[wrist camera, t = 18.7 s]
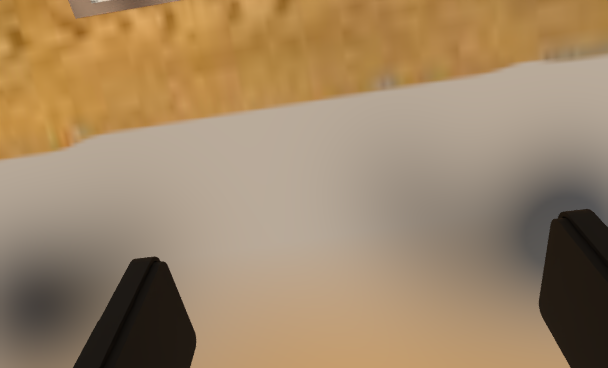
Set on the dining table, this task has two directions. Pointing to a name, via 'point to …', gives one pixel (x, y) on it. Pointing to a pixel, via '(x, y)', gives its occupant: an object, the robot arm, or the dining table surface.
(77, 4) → the marked board
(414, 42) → the dining table surface
